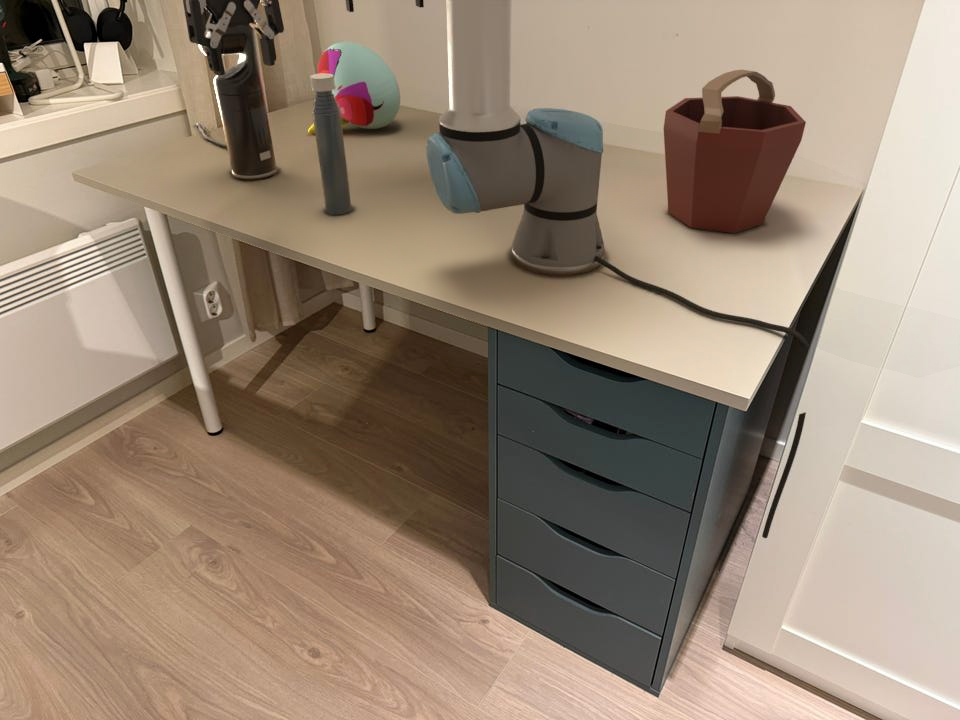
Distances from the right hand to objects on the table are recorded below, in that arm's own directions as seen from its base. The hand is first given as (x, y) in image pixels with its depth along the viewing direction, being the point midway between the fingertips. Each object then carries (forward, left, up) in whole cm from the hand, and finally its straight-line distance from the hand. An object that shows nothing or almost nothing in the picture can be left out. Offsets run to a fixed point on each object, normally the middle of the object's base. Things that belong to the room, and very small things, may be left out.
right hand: (385, 9), depth 134 cm
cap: (-15, +16, -8) cm, 24 cm away
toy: (+37, +1, -32) cm, 49 cm away
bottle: (-15, +16, -32) cm, 39 cm away
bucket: (-45, -48, -32) cm, 73 cm away
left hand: (-26, +30, -4) cm, 39 cm away
